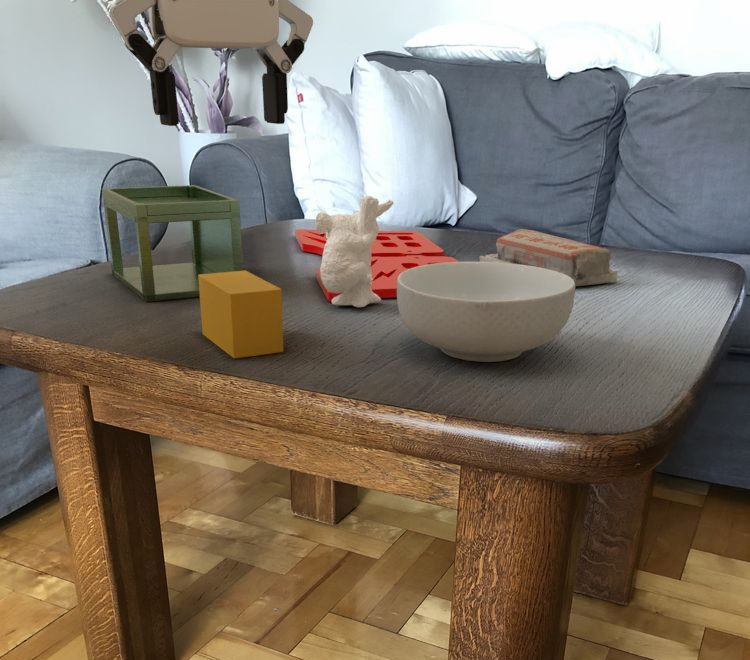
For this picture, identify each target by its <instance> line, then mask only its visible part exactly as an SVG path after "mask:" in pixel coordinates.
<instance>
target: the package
mask: <svg viewBox="0 0 750 660" xmlns="http://www.w3.org/2000/svg"><path fill="white" fill-rule="evenodd" d="M198 279H199V292H200V297H199V302H200V317H201V318H200V319H201V330H202V331H201V332H202V336H203V337H205V338H207V339H208V340H209V341H211V342H212V343H213V344H215V345H216V346H217V347H219V348H220V349H221V350H222V351H223V352H224V353H226V354H227V355H228V356H230V357H231V358H233V359H234V360H235V359H241V358H251V357H257V356H265V355H271V354H278V353H279V354H280V353H284V326H283V324H284V323H283V295H282V294H283V291H282V288H281V287H278V286H277V285H274V284H273V283H270V282H269V281H266V279H263V278H261V277H259V276H257V275H256V274H253V273H251V272H249V271H248V270H243V271H234V272H222V273H211V274H199V275H198Z"/></svg>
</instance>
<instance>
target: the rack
mask: <svg viewBox="0 0 750 660" xmlns="http://www.w3.org/2000/svg"><path fill="white" fill-rule="evenodd" d="M101 193H102V200H103V201H102V202H103V208H104V209H103V210H104V216H105V217H104V218H105V226H106V233H107V240H108V242H107V243H108V250H109V259H110V266H111V274H112V276H113V277H114V278H116V279H117V280H118V281H119V282H121V283H122V284H123V285H124V286H125V287H127V288H128V289H129V290H131V291H132V292H133V293H134V294H135V295H137V296H138V297H139V298H141V300H143V301H144V302H146V303H151V302H161V301H171V300H172V301H173V300H180V299H191V298H200V292H199V279H198V275H199V274H211V273H222V272H234V271H244V266H243V265H244V263H243V244H242V243H243V242H242V227H241V226H242V225H241V224H242V223H241V204H240V200H239V199H236V198H234V197H231V196H228V195H224V194H222V193H219V192H216V191H213V190H210V189H208V188H204V187H201V186H199V185H196V184H189V185H160V186H158V185H157V186H133V187H132V186H131V187H102V188H101ZM118 214H119V215H121V216H122V217H124V218H126V219H129V220H130V221H132V222H133V223H134V226H135V227H134V228H135V235H136V244H137V254H138V264H139V266H131V267H124V264H123V256H122V255H123V254H122V248H121V247H122V246H121V240H120V230H119V229H120V228H119V222H118ZM179 222H181V223H182V222H189V232H190V245H191V246H190V247H191V258H192V260H191V261H192V262H182V263H180V262H179V263H168V264H155V265H153V258H152V257H153V256H152V248H151V247H152V246H151V236H150V227H149V224H161V223H163V224H164V223H179Z"/></svg>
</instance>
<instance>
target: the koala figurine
mask: <svg viewBox="0 0 750 660" xmlns="http://www.w3.org/2000/svg"><path fill="white" fill-rule="evenodd" d="M379 203H380V200H379V199H378V198H377V197H374V196H372V195H365V196H362V197H360V201H359V205H360V207H359V210H358V211H356V212H353V213H351V214H349V213H348V214H347V213H345V214H342V213H334V214H331V215H330V214H328V213H327V212H324V211H320V212H318V213H317V214H316V216H315V230H317V231H318V232H319V233H322V234H323V233H326V238H327V240H326V244H325V247H324V251H323V255H321V256H322V257H321V258H322V259H321V263H320V267H319V268H320V270H321V280H322V282H323V285H324V286H325V288H326V289H327V290H328V291H330V292H333V293H343V292H344V293H343V294H340V295H339V296H337V297H334V298H333V299H332V302H331V304H332V305H333V306H352V307H355V308H364V307H366V306H367V305H369V304H373V303H379V302H381V301H382V298H380V297H379V296H378V295H376V294H375V293H373V292H372V290H371V284H372V283H371V282H372V281H373V279H372V274H371V264H370V263H371V259H372V258H371V245H372V244H373V243H374V241H375V239H376V237H377V234H378V231H380V230H379V228H380V227H379V223H378V220H377V219H378V217H381V216H382V215H383V214H384V213H385V212H387V211H389V210H390V208H391V207H393V205H394V204H395V203H394V201H393V200H392V199H388V200H386V201H384V202H383V203H381V204H379Z"/></svg>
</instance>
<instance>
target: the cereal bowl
mask: <svg viewBox="0 0 750 660" xmlns="http://www.w3.org/2000/svg"><path fill="white" fill-rule="evenodd" d="M575 296H576V286H575V282H574V280H573V279H572V278H571V277H569V276H567V275H565V274H562V273H560V272H557V271H553V270H549V269H544V268H539V267H534V266H527V265H519V264H510V263H498V262H480V261H458V262H446V263H435V264H428V265H423V266H418V267H414V268H411V269H408V270H406V271H404V272H402V273H401V274H400V275H399V276H398V278H397V297H396V301H397V308H398V312H399V316H400V318H401V321H402V323H403V324H404V326H405V327H406V328H407V329H408V331H409V332H410V333H411V334H412V335H413V336H415V337H416V338H417V339H418V340H420V341H421V342H424V343H425V344H427V345H430V346H431V347H435V348H437V349H440V351H441V352H442V353H444V354H445V355H447V356H449V357H451V358H454V359H458V360H463V361H467V362H475V363H478V362H479V363H493V362H494V363H496V362H504V361H509V360H513V359H516V358H518V357H519V356H521V355H522V354H523V352H526V351H530V350H533V349H536V348H538V347H541V346H543V345H544V344H547V343H548V342H550V341H551V340H552V339H554V338H555V337H557V335H559V334H560V332H561V331H562V330H563V329H564V328H565V326H566V325H567V323H568V321H569V319H570V318H571V314H572V312H573V308H574V303H575V302H574V301H575Z"/></svg>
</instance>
